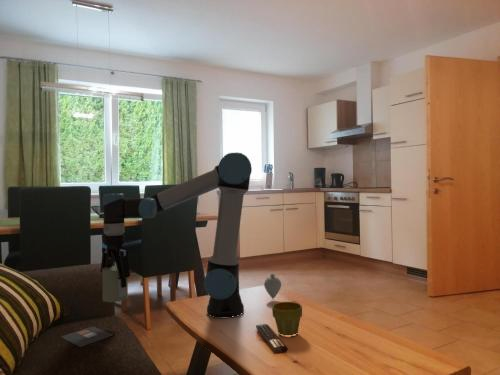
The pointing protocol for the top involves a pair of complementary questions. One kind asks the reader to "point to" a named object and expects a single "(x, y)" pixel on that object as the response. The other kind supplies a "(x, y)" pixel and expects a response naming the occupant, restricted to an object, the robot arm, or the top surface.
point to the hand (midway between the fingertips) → (115, 293)
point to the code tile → (86, 336)
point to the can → (112, 285)
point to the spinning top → (272, 285)
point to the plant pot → (287, 317)
